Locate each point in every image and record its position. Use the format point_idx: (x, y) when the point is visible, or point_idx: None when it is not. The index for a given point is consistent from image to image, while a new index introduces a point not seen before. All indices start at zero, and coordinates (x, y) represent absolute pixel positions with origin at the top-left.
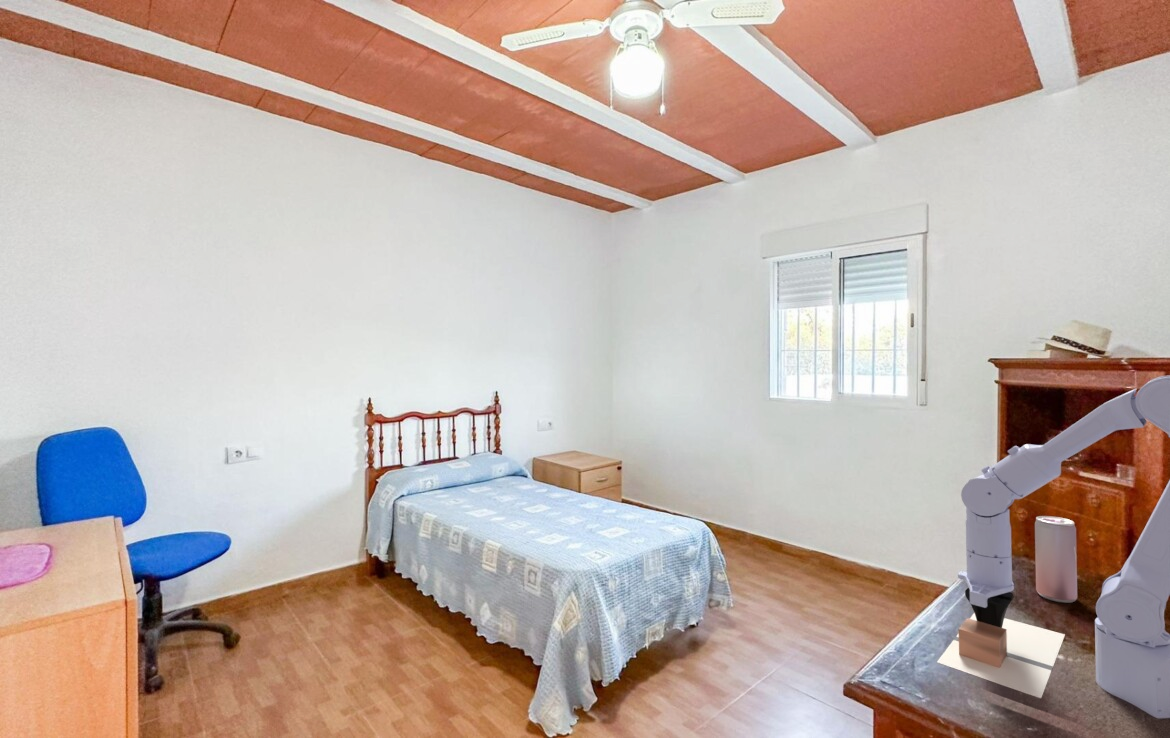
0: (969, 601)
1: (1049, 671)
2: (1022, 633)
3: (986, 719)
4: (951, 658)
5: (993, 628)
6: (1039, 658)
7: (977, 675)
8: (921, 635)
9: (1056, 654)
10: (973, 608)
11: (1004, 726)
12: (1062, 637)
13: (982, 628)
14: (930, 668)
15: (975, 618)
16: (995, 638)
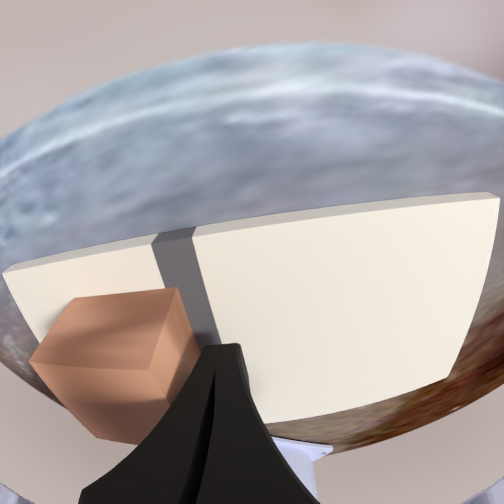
0: (101, 477)
1: None
2: (409, 344)
3: (7, 359)
4: (40, 291)
5: None
6: (267, 409)
7: None
8: (135, 110)
9: (325, 413)
10: (136, 449)
11: (19, 375)
12: (429, 383)
13: (116, 415)
14: (3, 253)
15: (445, 219)
16: (99, 433)
